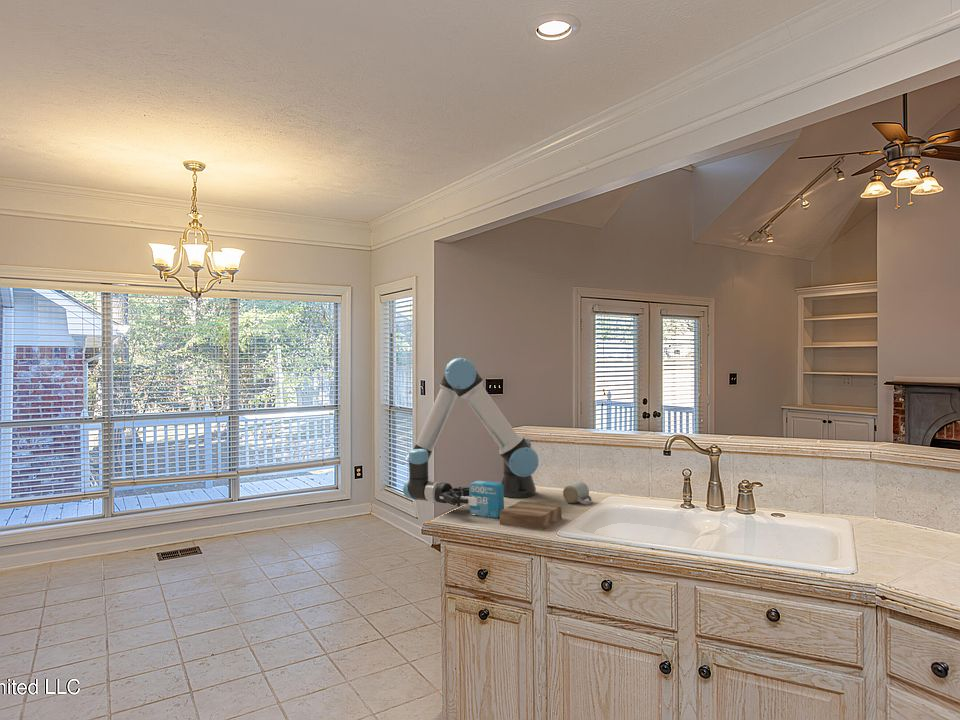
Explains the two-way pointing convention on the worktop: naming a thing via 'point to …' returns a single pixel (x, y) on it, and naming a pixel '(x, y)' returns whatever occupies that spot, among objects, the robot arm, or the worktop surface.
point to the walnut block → (530, 515)
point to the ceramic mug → (577, 493)
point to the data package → (487, 498)
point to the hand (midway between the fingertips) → (486, 498)
